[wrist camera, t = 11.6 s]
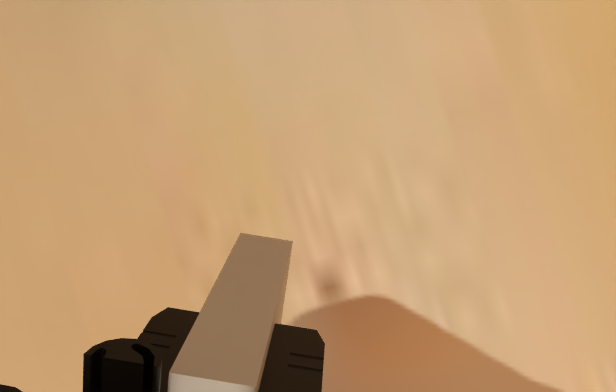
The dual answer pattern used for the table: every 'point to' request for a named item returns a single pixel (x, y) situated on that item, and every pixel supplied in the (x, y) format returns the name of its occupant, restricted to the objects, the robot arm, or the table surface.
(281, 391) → the robot arm
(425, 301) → the table surface
